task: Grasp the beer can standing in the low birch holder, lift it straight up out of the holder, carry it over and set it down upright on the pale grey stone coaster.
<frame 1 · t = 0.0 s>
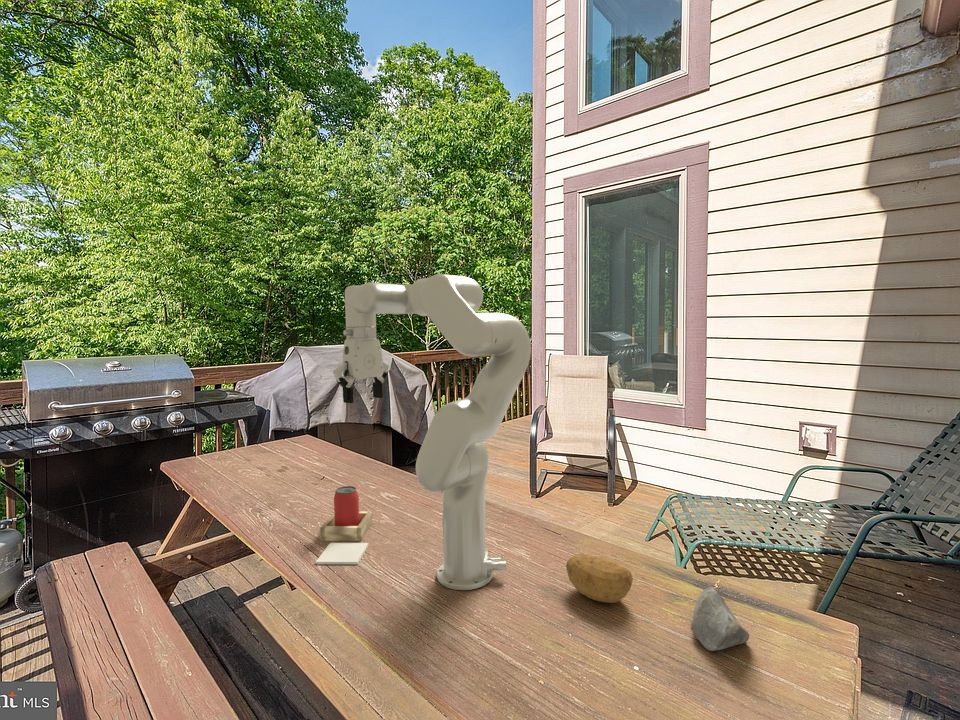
hand: (363, 400, 125), 37 cm above the table, tool pointing down, fingers open, 9 cm apart
beer can: (347, 532, 133), resting in holder
potato: (597, 597, 99), on the table
stone: (714, 640, 86), on the table
holder: (347, 531, 133), on the table
coaster: (343, 554, 120), on the table
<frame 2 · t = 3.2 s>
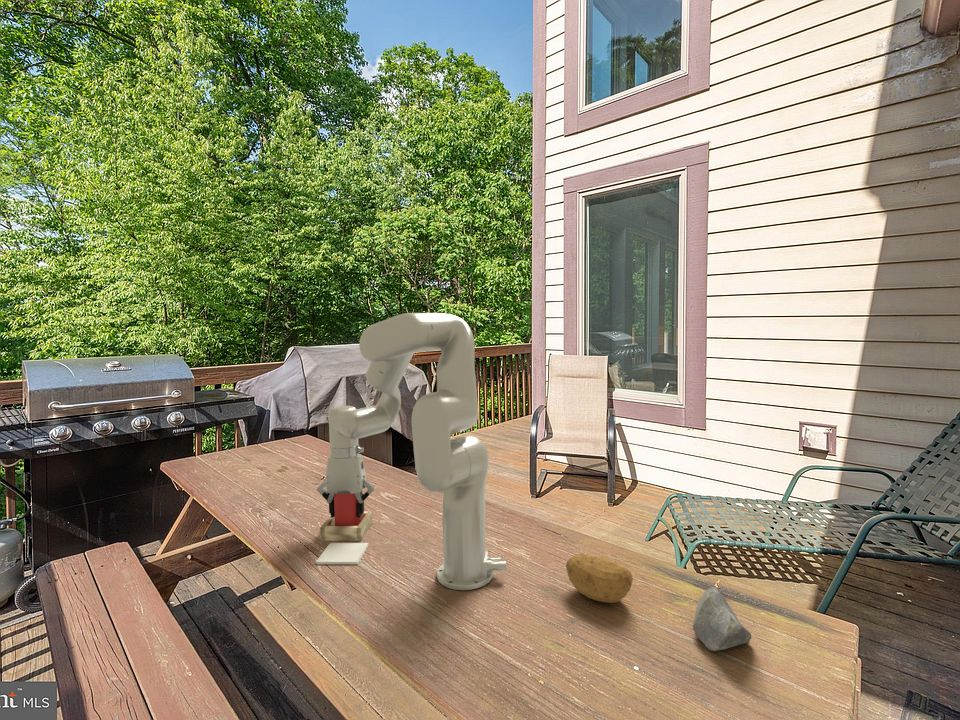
hand: (346, 515, 132), 5 cm above the table, tool pointing down, fingers closed on beer can, 6 cm apart
beer can: (347, 532, 133), resting in holder, touching gripper
everything else where it was.
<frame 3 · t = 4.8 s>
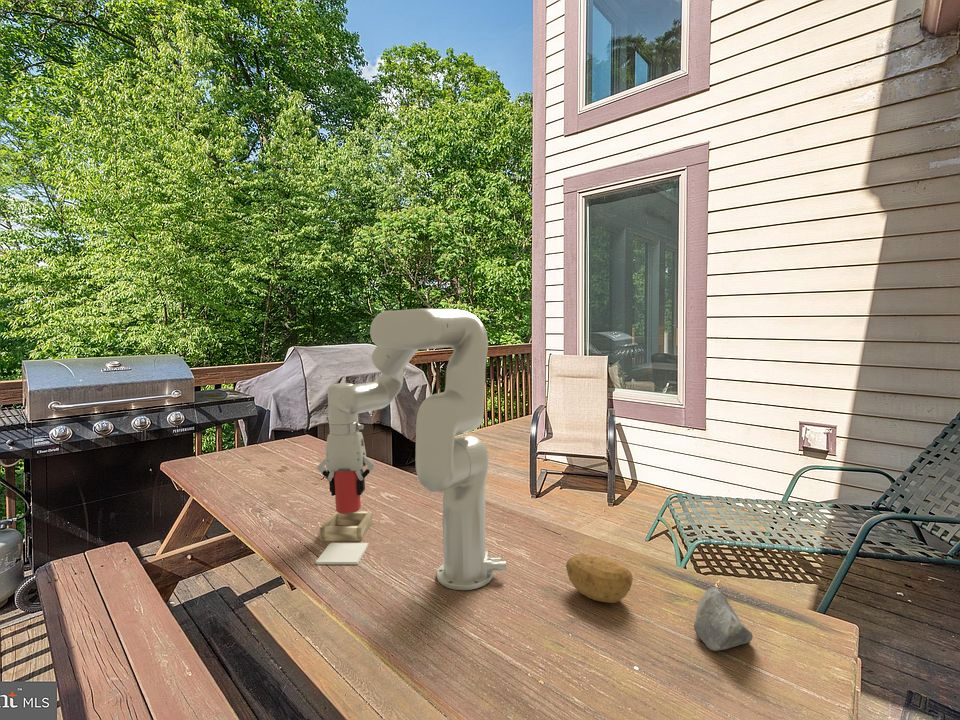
hand: (347, 493, 131), 11 cm above the table, tool pointing down, fingers closed on beer can, 6 cm apart
beer can: (348, 511, 132), point 6 cm above the table, touching gripper
everything else where it was.
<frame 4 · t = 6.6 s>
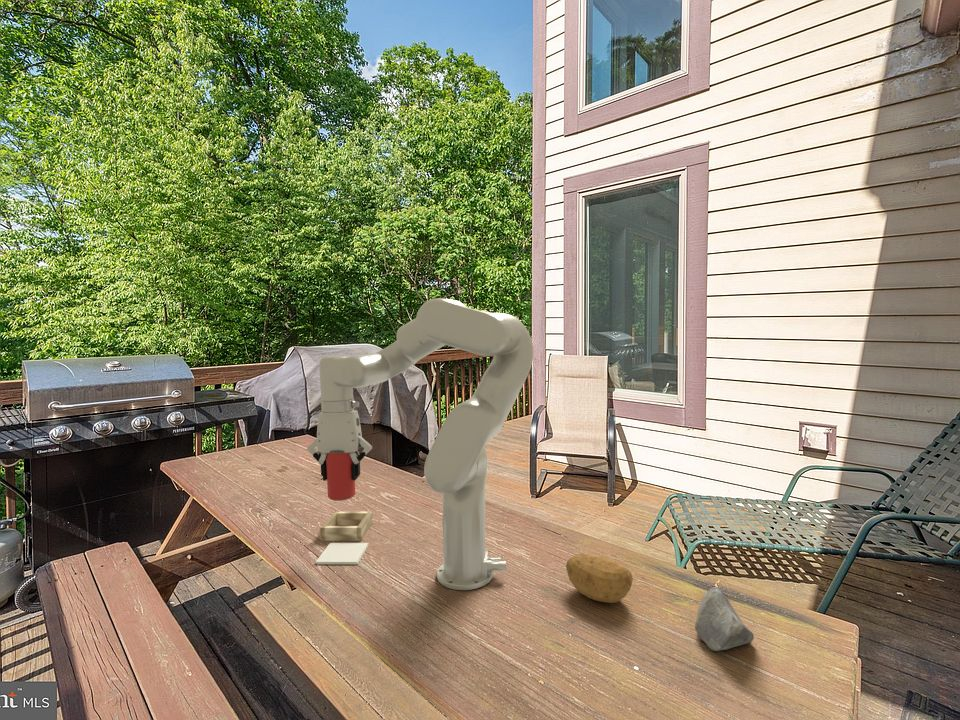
hand: (341, 478, 118), 19 cm above the table, tool pointing down, fingers closed on beer can, 6 cm apart
beer can: (341, 497, 119), point 14 cm above the table, touching gripper
everything else where it was.
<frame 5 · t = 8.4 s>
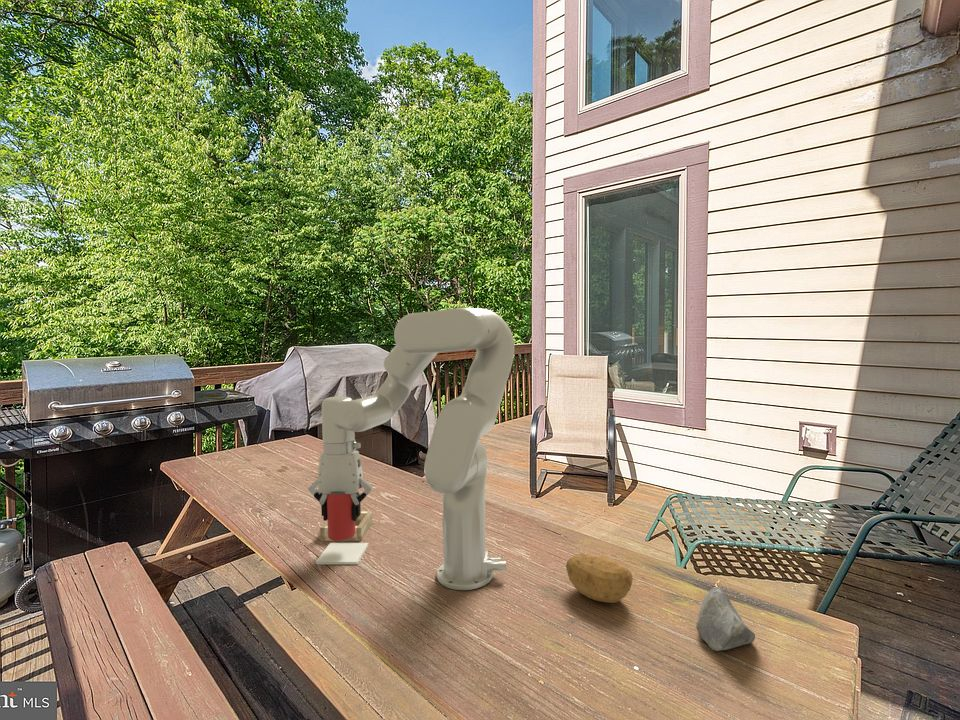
hand: (341, 518, 119), 9 cm above the table, tool pointing down, fingers closed on beer can, 6 cm apart
beer can: (341, 537, 119), point 4 cm above the table, touching gripper
everything else where it was.
when the fingers open (7 cm above the table, at t = 9.9 s): beer can drops 1 cm, resting on coaster.
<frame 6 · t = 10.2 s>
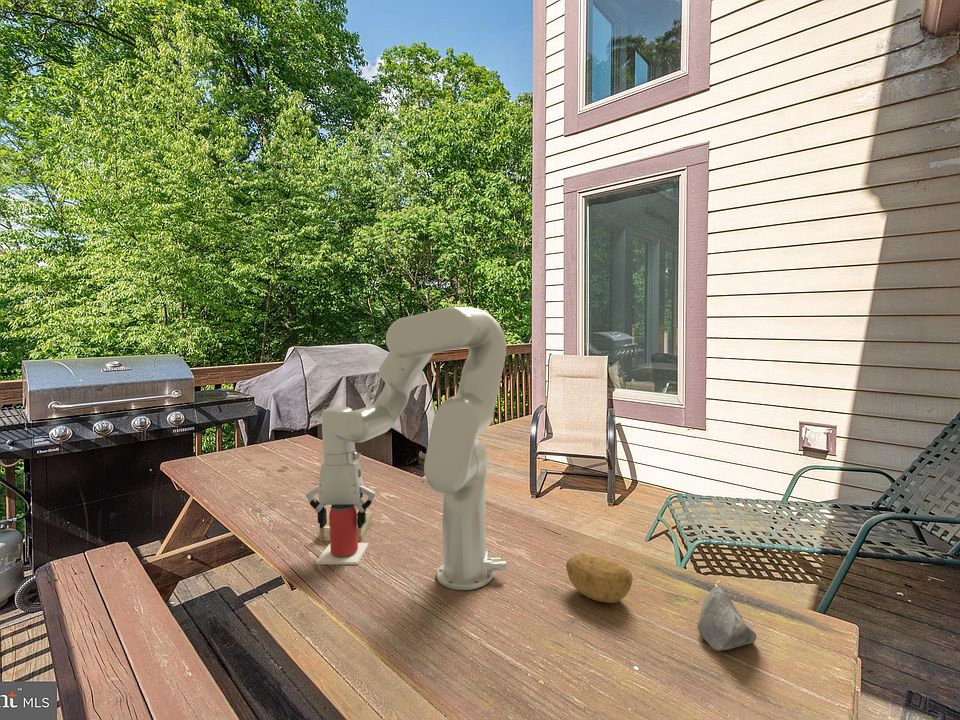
hand: (342, 526, 119), 7 cm above the table, tool pointing down, fingers open, 9 cm apart
beer can: (344, 552, 120), resting on coaster
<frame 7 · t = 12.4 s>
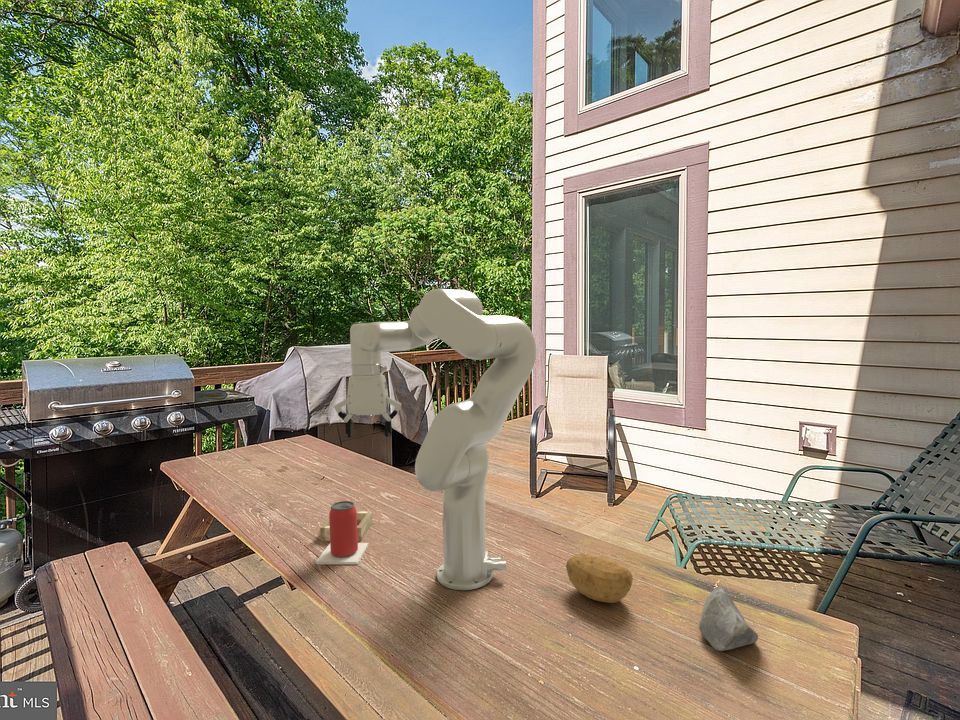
hand: (369, 436, 126), 28 cm above the table, tool pointing down, fingers open, 9 cm apart
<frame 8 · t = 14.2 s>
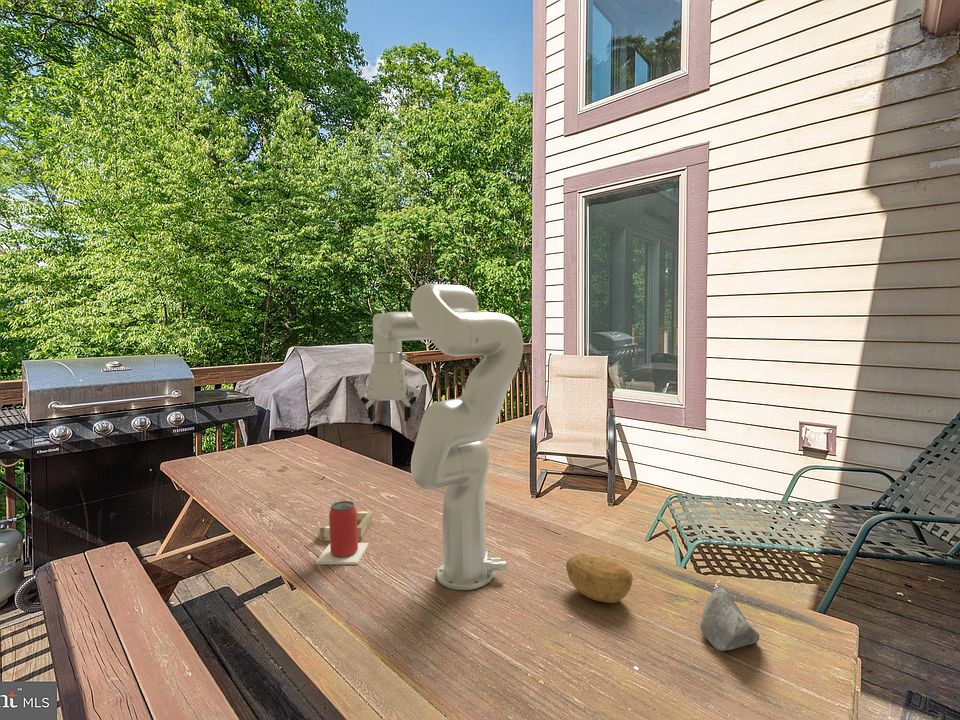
hand: (389, 420, 133), 30 cm above the table, tool pointing down, fingers open, 9 cm apart
at the end: beer can 0.4 cm from the coaster (horizontally); beer can tilted 0°; the gripper is holding nothing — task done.
